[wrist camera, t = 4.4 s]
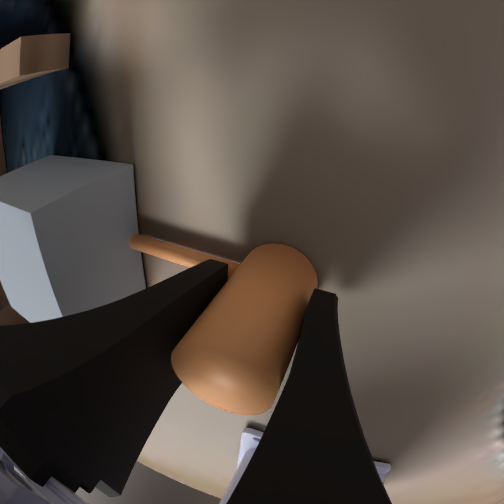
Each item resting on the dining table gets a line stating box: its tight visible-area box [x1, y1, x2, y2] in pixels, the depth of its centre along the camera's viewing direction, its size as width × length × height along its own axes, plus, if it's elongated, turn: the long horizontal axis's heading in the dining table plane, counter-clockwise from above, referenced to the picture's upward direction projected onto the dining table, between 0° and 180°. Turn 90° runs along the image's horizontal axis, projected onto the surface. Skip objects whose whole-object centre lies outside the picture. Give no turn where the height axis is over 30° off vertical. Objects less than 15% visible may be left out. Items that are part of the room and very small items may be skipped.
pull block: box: [0, 155, 318, 415], centre depth 10 cm, size 13×6×4 cm, turn 85°
